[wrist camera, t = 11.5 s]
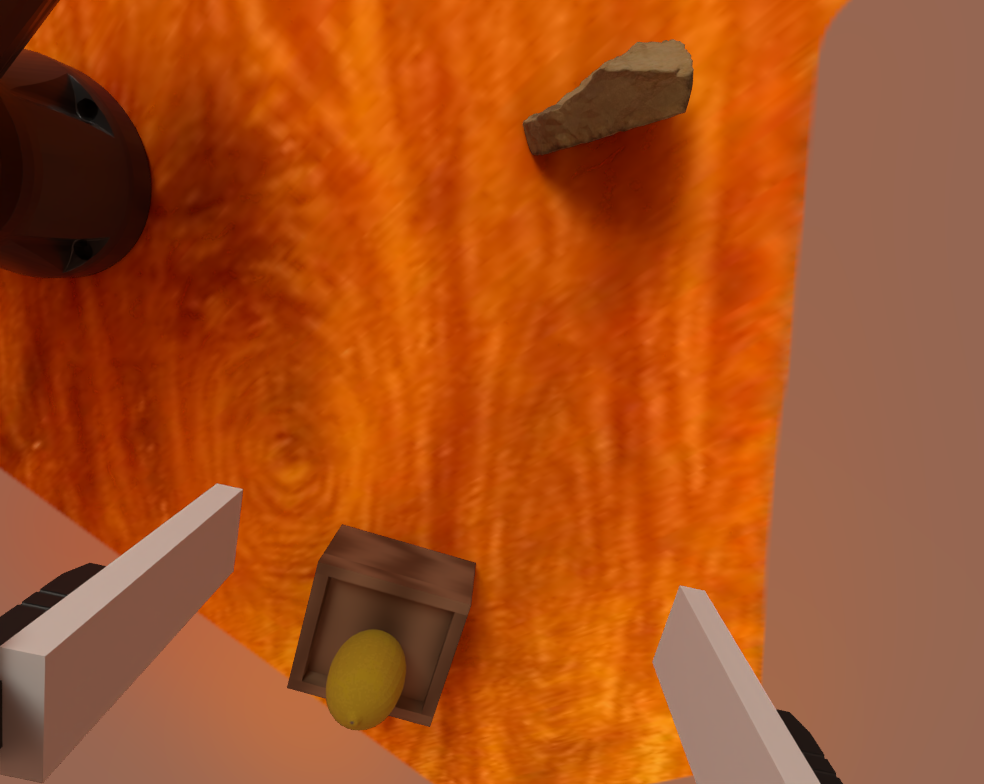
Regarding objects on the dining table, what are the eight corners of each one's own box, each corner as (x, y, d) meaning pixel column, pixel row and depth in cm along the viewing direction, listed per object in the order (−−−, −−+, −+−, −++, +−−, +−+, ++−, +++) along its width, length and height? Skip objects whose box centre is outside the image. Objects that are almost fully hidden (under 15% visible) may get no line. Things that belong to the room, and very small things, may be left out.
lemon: (409, 605, 41) (387, 686, 33) (417, 663, 42) (399, 754, 35) (340, 610, 41) (303, 691, 34) (351, 668, 43) (317, 759, 35)
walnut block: (314, 634, 48) (286, 687, 42) (343, 522, 45) (318, 561, 39) (439, 669, 48) (429, 726, 42) (476, 560, 46) (471, 604, 40)
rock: (511, 192, 36) (660, 205, 34) (505, 71, 28) (698, 82, 27) (535, 86, 40) (669, 94, 39) (536, -45, 32) (704, -40, 31)
